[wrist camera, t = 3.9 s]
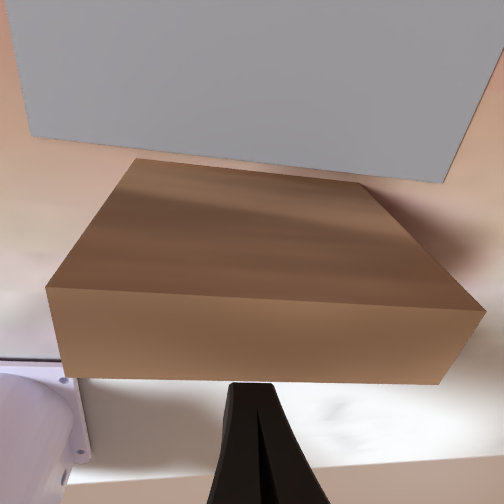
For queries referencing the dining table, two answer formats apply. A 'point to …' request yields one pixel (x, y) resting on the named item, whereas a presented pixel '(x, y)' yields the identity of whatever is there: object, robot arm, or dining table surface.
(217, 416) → the dining table surface
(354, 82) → the mat
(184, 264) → the walnut slab
